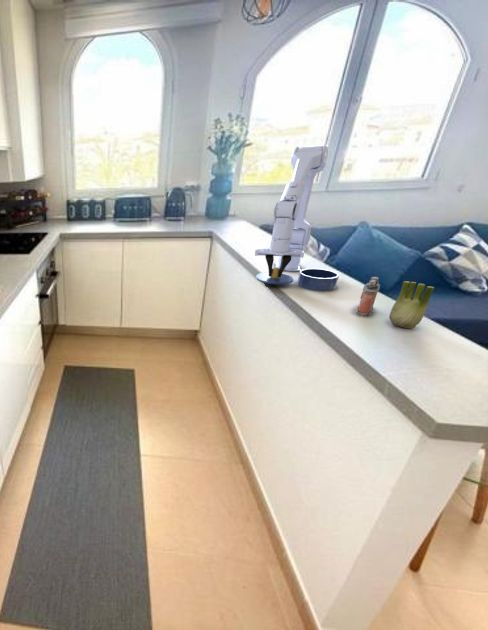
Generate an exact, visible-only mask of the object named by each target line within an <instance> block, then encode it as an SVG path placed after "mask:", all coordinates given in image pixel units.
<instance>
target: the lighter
mask: <svg viewBox="0 0 488 630" xmlns="http://www.w3.org/2000/svg"><path fill="white" fill-rule="evenodd" d="M379 280H380V279H379V276H378V277H377V276H372V277H370V280H368V281H369V282H367V283H365V284H364V285H363V289H362V292H361V294H360V300H359V305H358V306H357V308H356V311H355V312H356V315H357V316H360V317H369V316H370V315H372V313H373V311H374V304H375V301H376V298H377V296H378V293H379V292H380V289H381V284H379Z"/></svg>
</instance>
